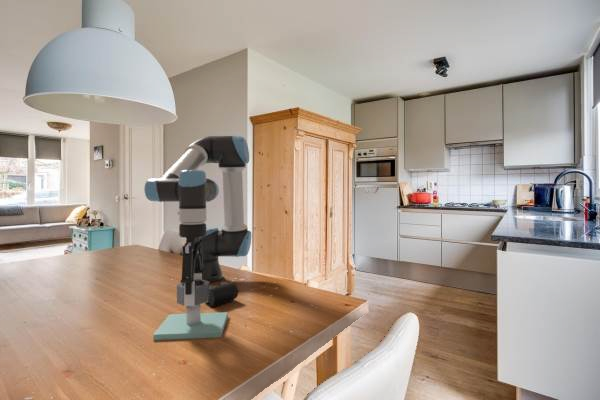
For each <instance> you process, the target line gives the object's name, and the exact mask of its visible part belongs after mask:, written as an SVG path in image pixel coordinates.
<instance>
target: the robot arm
mask: <svg viewBox="0 0 600 400" xmlns="http://www.w3.org/2000/svg"><path fill="white" fill-rule="evenodd" d="M249 163H250V150H249V147H248V143H247V140H246V138H245V137H243V136H239V135H227V136H226V135H219V136H218V135H209V136H204V137H202V138H199V139H197V140H196V141H195V140H194V141H193V142H192V143H191V144H189V145H188V146H187V147H186V148H185V150H184V152H183V155H182V156H180V158H179V159H178V160H177V161H176V162H175V163H173V165H172V166H171V167H170V168H169V169H167V171H166V172H165V173H164V174H163V175H162V176H160V177H158V178H157V177H154V178H148V179H147V180H146V182H145V183H144V188H143V189H144V194H145V197H146V199H147V200H148V201H150V202H158V203H161V202H163V203H164V202H166V203H167V202H169V203H172V202H178V205H179V206H178V208H179V210H178V211H177V215H178V219H179V221H178V222H180V224H179V228H178V231H179V233H178V236H179V237H180V238H185V239H186V240H185V243H184V245H183V246H182V248H181V249H182V263H181V265H182V266H181V280H180V282H181V283H184V306H183V307H186V306H189V305H195V282H193V281H194V280H197V279H203V280H206V281H209V284H210V283H215V282H218V281H220V280H222V279H223V270H222V268H221V264H220V261H219V257H234V258H235V257H236V258H239V257H240V258H241V257H246V256H248V254H249V252H250V250H251V249H250V248H251V244H252V231H250V230H248V226H247V225H246V224H245V217H244V212H245V211H244V186H243V185H244V184H243V171H244V170H245V168H247V167H246V164H249ZM206 164H218V169H219V170H220V171H222V191H223V192H222V193H223V215H224V217H223V218H224V225H222V226H221V230H220V229H219V228H218V226H217V227H208V228H207V224H206V221H207V203H209V202H212V201H214V200H215V199H216V198H217V197H218V195H219V192H220V191H219V189H220V188H219V185H218V183H216V181H214V180H212V179H210V178H207V173H206V172H205V171H204V170H199V168H200V167H203V166H204V165H206Z"/></svg>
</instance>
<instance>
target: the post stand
mask: <svg viewBox="0 0 600 400" xmlns="http://www.w3.org/2000/svg"><path fill="white" fill-rule="evenodd" d="M201 305H202V304H198V305H189V306H185V307H186V309H185V313H171V314H169V315H167V317H166V318H165V319H164V321H163V322H162V323H161V324H160V326H159V327H158V328H157V329H156V330H155V332H154V333H153V334H152V338H153V341H160V340H161V341H162V340H164V341H165V340H184V339H185V340H187V339H206V338H207V339H208V338H209V339H211V338H222V335H223V331H224V329H225V326H226V323H227V320H228V317H229V315H228V314H229V313H228V311H224V312H223V311H222V312H201V311H202V310H201V308H202V307H201Z"/></svg>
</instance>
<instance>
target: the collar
mask: <svg viewBox="0 0 600 400" xmlns="http://www.w3.org/2000/svg"><path fill="white" fill-rule="evenodd" d="M193 282H195V305H198V304H200V305H202V304H204V303H205V302H208V299H209V286H210V283H209V281H206V280H203V279H197V280H194V281H193ZM176 303H177V304H178V305H181V306H183V307H185V306H184V283H181V281H180V282H178V284H177V285H176Z"/></svg>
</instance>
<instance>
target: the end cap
mask: <svg viewBox="0 0 600 400" xmlns="http://www.w3.org/2000/svg"><path fill="white" fill-rule="evenodd" d="M238 296H239V288H238V286H237V284H236V283H235V282H234V281H232V282H229V283H228V282H226V281H223V282H220V283H219V284H218V286H216V285H209V299H208V301H207V302H205V305H206V306H209V307H210V308H213V307H216V306H219V305H223V304H225V303H226V304H227V303H229V302H232V301H235V299H237V297H238Z"/></svg>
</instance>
